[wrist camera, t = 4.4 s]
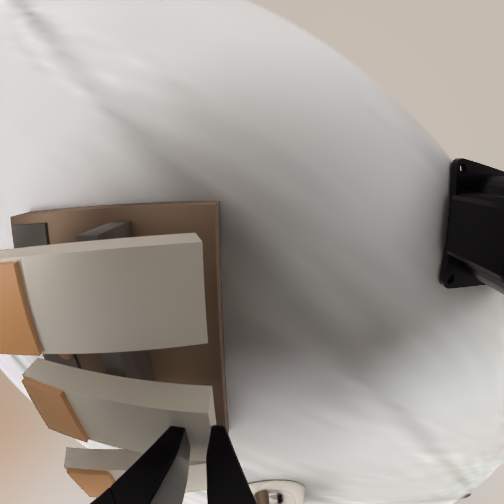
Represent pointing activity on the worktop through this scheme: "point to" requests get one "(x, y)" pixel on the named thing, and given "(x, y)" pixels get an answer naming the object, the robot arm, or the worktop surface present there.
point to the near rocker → (103, 296)
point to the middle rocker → (119, 407)
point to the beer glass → (278, 492)
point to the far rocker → (117, 469)
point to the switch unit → (136, 225)
